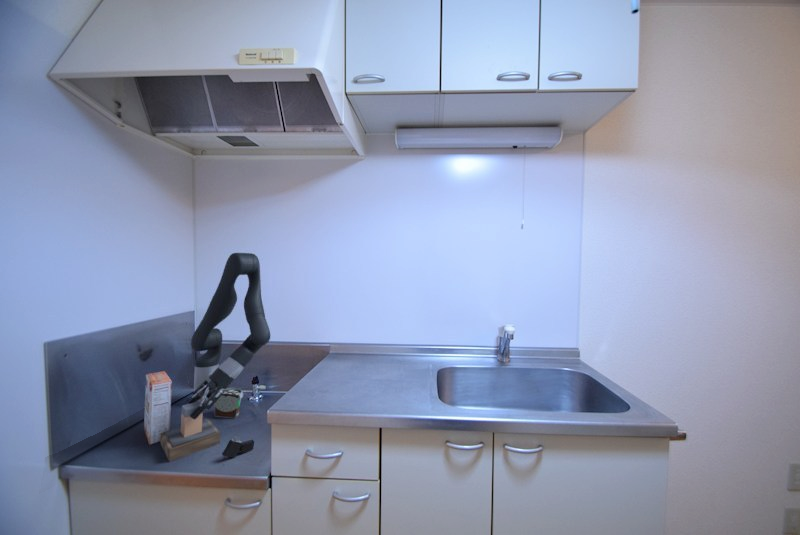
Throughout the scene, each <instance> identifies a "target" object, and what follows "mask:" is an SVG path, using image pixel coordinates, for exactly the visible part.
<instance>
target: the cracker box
mask: <svg viewBox="0 0 800 535" xmlns="http://www.w3.org/2000/svg"><path fill="white" fill-rule="evenodd" d="M172 384H173V381H172V380H171V378H170V376H169V375H168V374H167V372H166V371H164V370H162V371H158V372H157V371H156V372H152V373H147V374H145V393H144V394H145V395H144V415H143V417H144V419H143V420H144V422H143V430H144V433H145V436H146V439H147V442H148V446H151V445H153V444H154V445H155V444H158V443H160V440H161V433H163V432H166V431H169V430H171V429H170V428H171V407H172V406H171V405H172V387H173V386H172Z"/></svg>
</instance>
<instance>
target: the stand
mask: <svg viewBox="0 0 800 535" xmlns="http://www.w3.org/2000/svg"><path fill="white" fill-rule="evenodd" d="M180 431H181V426H180V427H176V428H173V429H170V430H169V431H166V432H163V433H161V440H160V442H159V444H160V446H161V447H162V450H163V451H164V454H165V455H166V457H167V459H168V461H169V462H173V461H175V460H179V459H182V458H184V457H186V456H189V455H192V454H194V453H197V452H200V451H202V450H205V449H208V448H210V447H213V446H216V445H219V444H220V443H221V431H219V429H218V428H217V427H216V426H215V425H214V424H213V422H211V421H210V419H209V418H205V419H202V432H199V433H196V434H193V435H190V436H187V437H184V436H183V435H182V433H181V432H180Z"/></svg>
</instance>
